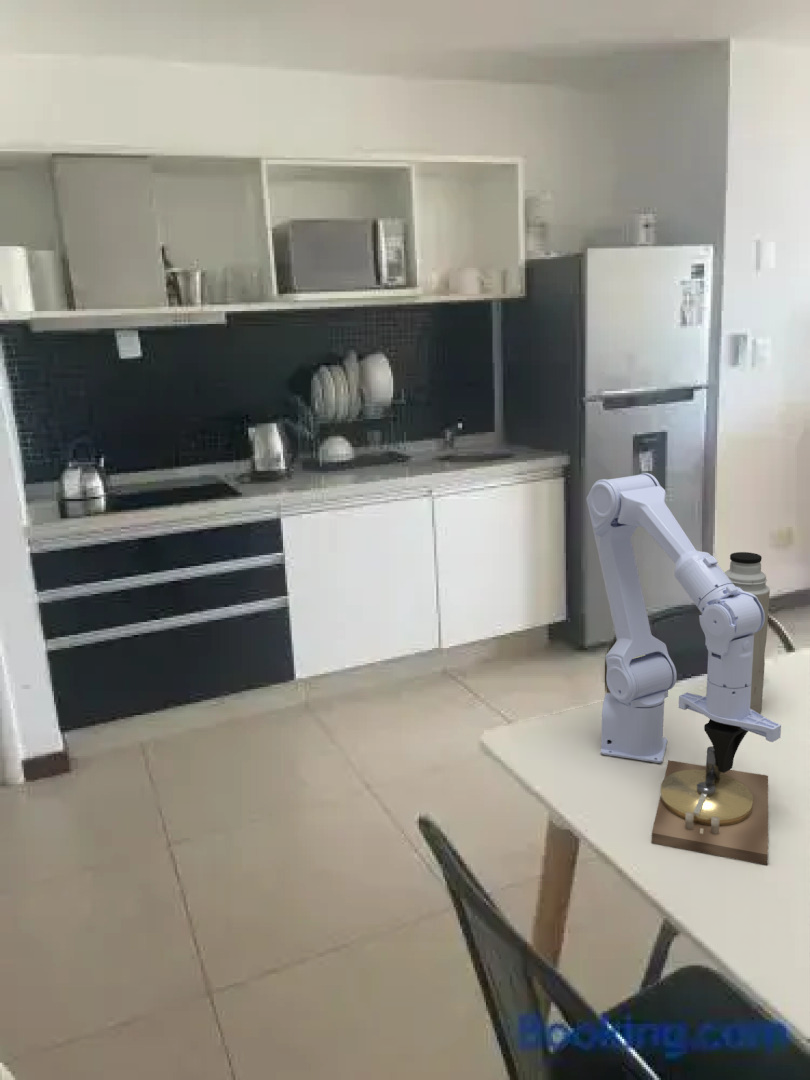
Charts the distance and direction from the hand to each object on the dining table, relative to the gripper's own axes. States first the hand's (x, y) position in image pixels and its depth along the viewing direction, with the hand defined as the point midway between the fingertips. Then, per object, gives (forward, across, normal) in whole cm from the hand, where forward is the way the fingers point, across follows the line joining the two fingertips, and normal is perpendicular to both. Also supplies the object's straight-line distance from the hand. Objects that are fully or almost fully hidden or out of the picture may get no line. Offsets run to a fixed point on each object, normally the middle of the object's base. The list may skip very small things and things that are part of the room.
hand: (725, 769), depth 118 cm
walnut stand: (+5, -1, +4) cm, 6 cm away
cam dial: (+3, 0, +5) cm, 6 cm away
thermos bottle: (+5, +15, -27) cm, 31 cm away
